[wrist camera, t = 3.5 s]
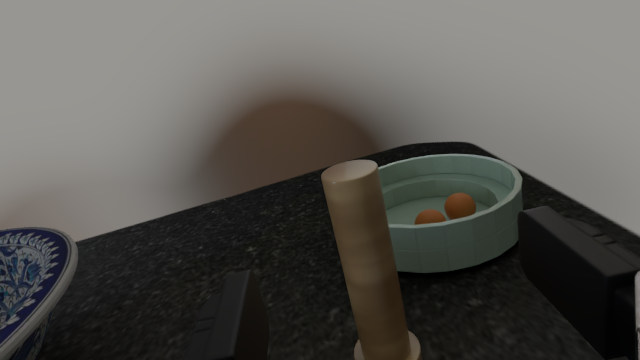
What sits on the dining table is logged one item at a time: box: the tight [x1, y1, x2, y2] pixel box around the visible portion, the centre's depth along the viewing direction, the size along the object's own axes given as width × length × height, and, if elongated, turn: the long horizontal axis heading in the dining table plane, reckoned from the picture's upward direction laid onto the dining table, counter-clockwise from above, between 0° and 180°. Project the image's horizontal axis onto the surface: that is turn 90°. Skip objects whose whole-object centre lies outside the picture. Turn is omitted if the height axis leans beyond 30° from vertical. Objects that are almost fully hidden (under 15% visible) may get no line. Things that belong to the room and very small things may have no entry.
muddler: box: [321, 160, 422, 360], centre depth 25 cm, size 4×4×14 cm
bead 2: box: [444, 193, 476, 220], centre depth 41 cm, size 3×3×3 cm
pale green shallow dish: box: [378, 154, 524, 273], centre depth 42 cm, size 17×17×5 cm
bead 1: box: [414, 209, 446, 225], centre depth 39 cm, size 3×3×3 cm
